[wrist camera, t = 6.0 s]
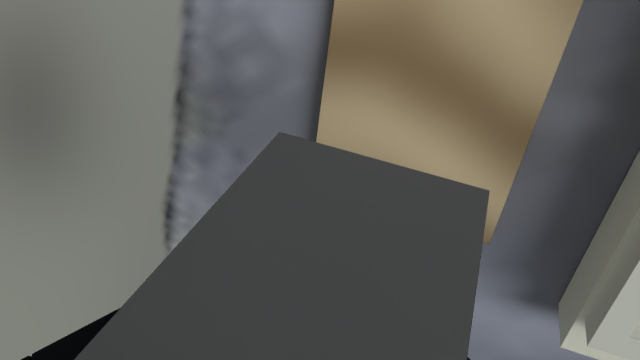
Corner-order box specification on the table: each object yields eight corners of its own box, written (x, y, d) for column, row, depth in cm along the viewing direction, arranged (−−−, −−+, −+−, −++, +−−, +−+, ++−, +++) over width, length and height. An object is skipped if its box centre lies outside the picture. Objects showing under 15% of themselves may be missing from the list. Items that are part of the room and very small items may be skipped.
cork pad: (489, 235, 23) (489, 244, 22) (314, 183, 24) (309, 190, 24) (607, -69, 16) (609, -67, 16) (354, -112, 18) (348, -111, 17)
